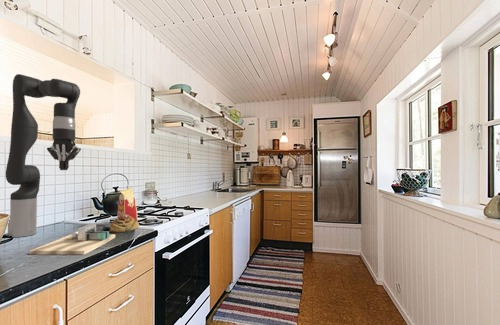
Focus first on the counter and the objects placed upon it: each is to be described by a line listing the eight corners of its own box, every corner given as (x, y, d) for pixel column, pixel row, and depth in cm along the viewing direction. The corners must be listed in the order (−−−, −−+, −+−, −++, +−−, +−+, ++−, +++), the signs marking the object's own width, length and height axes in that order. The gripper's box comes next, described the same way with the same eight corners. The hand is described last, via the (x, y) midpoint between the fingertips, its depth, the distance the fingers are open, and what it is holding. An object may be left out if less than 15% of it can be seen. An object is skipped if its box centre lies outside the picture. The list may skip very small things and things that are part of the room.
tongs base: (70, 239, 102) (70, 232, 102) (75, 237, 105) (75, 230, 105) (105, 239, 102) (105, 232, 102) (109, 237, 105) (109, 230, 105)
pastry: (107, 234, 116) (107, 217, 116) (112, 226, 130) (112, 212, 130) (138, 231, 121) (138, 215, 121) (139, 224, 135) (139, 210, 135)
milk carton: (131, 218, 148) (131, 186, 148) (138, 221, 142) (138, 187, 142) (115, 221, 141) (115, 187, 141) (122, 224, 135) (122, 188, 135)
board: (29, 254, 88) (29, 250, 89) (71, 237, 109) (71, 234, 110) (84, 254, 89) (84, 250, 89) (115, 237, 110) (115, 234, 110)
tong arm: (75, 239, 101) (75, 233, 101) (78, 238, 103) (78, 232, 103) (103, 239, 101) (103, 234, 101) (105, 238, 102) (105, 233, 102)
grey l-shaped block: (77, 240, 100) (78, 228, 100) (89, 235, 107) (89, 224, 107) (85, 240, 100) (85, 228, 100) (96, 235, 107) (96, 224, 107)
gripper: (86, 130, 104) (85, 170, 104) (55, 129, 104) (55, 169, 104) (73, 127, 97) (73, 170, 97) (40, 127, 97) (40, 170, 97)
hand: (63, 170), depth 100 cm, fingers closed
